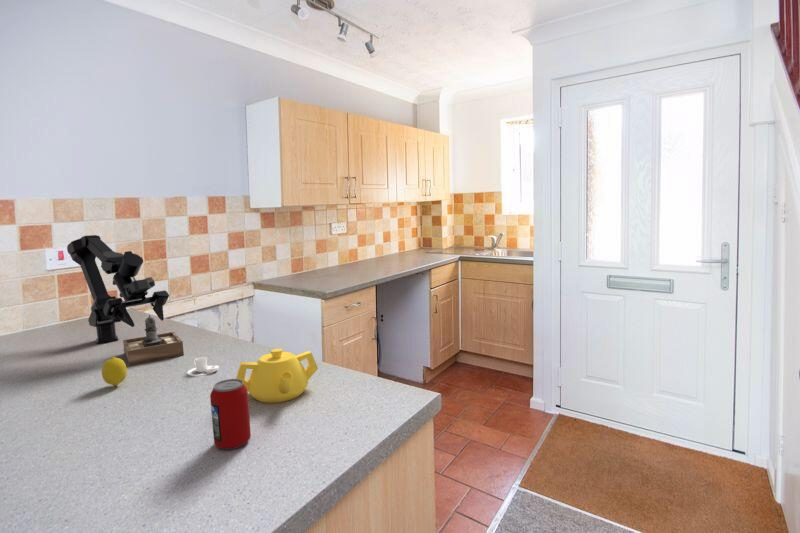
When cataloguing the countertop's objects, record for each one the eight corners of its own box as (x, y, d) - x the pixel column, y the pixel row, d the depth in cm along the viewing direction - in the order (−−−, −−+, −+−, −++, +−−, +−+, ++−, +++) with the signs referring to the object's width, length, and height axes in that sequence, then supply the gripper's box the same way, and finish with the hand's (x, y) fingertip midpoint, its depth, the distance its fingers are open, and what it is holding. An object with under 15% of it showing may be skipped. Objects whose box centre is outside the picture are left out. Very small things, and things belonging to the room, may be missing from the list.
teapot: (244, 420, 97) (240, 371, 96) (232, 391, 114) (229, 349, 112) (332, 400, 107) (330, 355, 105) (310, 376, 123) (308, 336, 121)
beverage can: (220, 435, 91) (215, 378, 89) (254, 433, 92) (250, 376, 90) (209, 453, 84) (204, 392, 83) (246, 450, 85) (241, 390, 83)
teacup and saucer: (223, 372, 128) (222, 358, 128) (195, 380, 123) (194, 366, 122) (210, 365, 134) (208, 352, 134) (182, 373, 129) (181, 359, 128)
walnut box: (124, 353, 147) (123, 340, 146) (175, 344, 155) (173, 331, 155) (129, 365, 135) (127, 351, 134) (183, 355, 143) (182, 341, 143)
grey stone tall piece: (161, 347, 149) (158, 311, 148) (164, 351, 144) (161, 315, 143) (141, 350, 146) (138, 314, 144) (143, 355, 141) (140, 318, 139)
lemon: (133, 383, 120) (130, 354, 119) (114, 391, 115) (110, 361, 114) (117, 381, 122) (114, 352, 121) (98, 389, 117) (95, 359, 116)
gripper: (103, 274, 138) (124, 313, 133) (163, 266, 153) (184, 302, 148) (94, 297, 143) (114, 335, 138) (153, 287, 158) (173, 322, 154)
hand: (148, 322), depth 145 cm, fingers open, 9 cm apart
